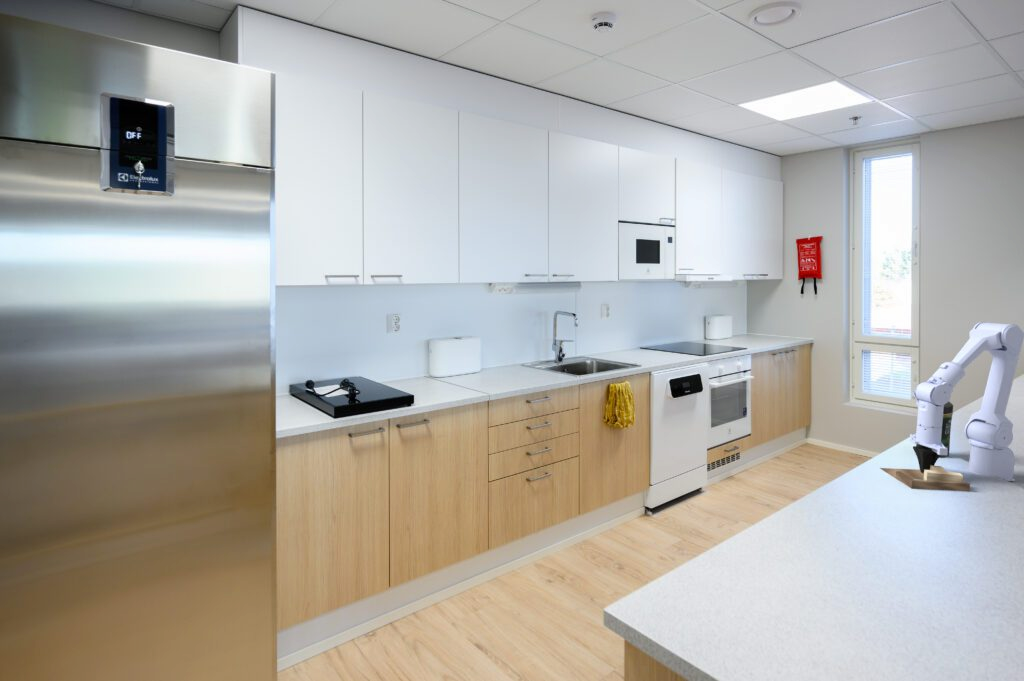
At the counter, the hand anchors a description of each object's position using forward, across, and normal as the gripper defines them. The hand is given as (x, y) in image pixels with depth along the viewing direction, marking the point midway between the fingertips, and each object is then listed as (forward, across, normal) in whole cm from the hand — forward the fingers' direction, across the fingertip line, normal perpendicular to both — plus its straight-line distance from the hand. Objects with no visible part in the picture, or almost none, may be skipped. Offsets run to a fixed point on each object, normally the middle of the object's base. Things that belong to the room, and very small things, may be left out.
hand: (925, 472), depth 162 cm
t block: (+1, +5, +1) cm, 5 cm away
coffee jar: (+2, -24, +14) cm, 28 cm away
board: (+2, +3, -2) cm, 4 cm away
